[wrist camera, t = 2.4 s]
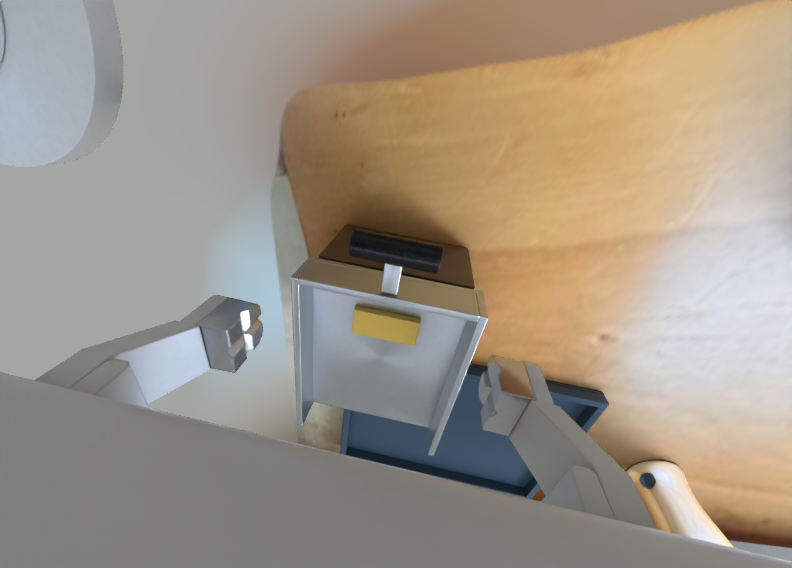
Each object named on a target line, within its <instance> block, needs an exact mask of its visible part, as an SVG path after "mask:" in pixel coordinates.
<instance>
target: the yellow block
mask: <svg viewBox="0 0 792 568" xmlns="http://www.w3.org/2000/svg"><path fill="white" fill-rule="evenodd" d="M420 324H421V319H420V318H415V317H410V316H405V315H401V314H396V313H391V312H386V311H382V310H377V309H372V308H367V307H362V306H358V305H356V306H355V308H354V311H353V321H352V333H355V334H359V335H364V336H369V337H373V338H378V339H383V340H387V341H392V342H397V343H401V344H406V345H411V346H415V344H416V340H417V336H418V332H419V328H420Z"/></svg>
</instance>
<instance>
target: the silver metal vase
mask: <svg viewBox="0 0 792 568" xmlns="http://www.w3.org/2000/svg"><path fill="white" fill-rule="evenodd" d="M627 473H628V474H629V475H630V476H631V478H632V480H633V482H634V484H635V486H636V488H637V490H638V492H639V494H640V496H641V498H642V500H643V502H644V504H645V506H646V508H647V510H648V512H649V514H650V516H651V518H652V520H653V522H654V524H655V526H656V528H657V530H661V531H666V532H670V533H674V534H678V535H682V536H686V537H691V538H695V539H699V540H703V541H707V542H712V543H716V544H720V545H724V546H729V547H733V548H735V547H734V546H733V545H732V544H731V543H730V541H729V540H728V539H727V538H726V536H725V535H724V534H723V533H722V532H721V531H720V529H719V528H718V527H717V526H716V525H715V523H714V522H713V521H712V520H711V519H710V517H709V516H708V515H707V514H706V512H705V511H704V510H703V508H702V507H701V506H700V504H699V503H698V501H697V500H696V498H695V496H694V495H693V493H692V491H691V489H690V486H689V484H688V482H687V480H686V477H685V475H684V473H683V471H682V470H681V468H680V467H679V466H677V465H675V464H673V463H671V462H667V461H659V460H654V461H645V462H641V463H638V464H635V465H633V466H632V467H630V468H629V469H628V470H627Z"/></svg>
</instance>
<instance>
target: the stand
mask: <svg viewBox="0 0 792 568" xmlns="http://www.w3.org/2000/svg"><path fill="white" fill-rule="evenodd" d="M354 229H360V230H366V231H371V232H376V233H381V234H386V235H391V236H396V237H401V238H406V239H411V240H416V241H421V242H426V243H431V244H437V245H442V246H443V255H442V260H441V264H440V268H439V271H438V273H437V274H433V273H428V272H423V271H419V270H414V269H409V268H404V267H403V268H402V273H401V275H404V276H409V277H414V278H419V279H424V280H428V281H433V282H438V283H443V284H448V285H453V286H458V287H463V288H468V289H473V290H474V288H475V287H474V281H473V275H472V269H471V263H470V257H469V251H468V248H464V247H459V246H454V245H449V244H443V243H438V242H433V241H428V240H423V239H418V238H413V237H408V236H403V235H398V234H393V233H388V232H383V231H377V230H372V229H367V228H362V227H357V226H352V225H347V224H346V225H345V226H344V227H343V229H342V230H341V231H340V232H339V233H338V234H337V236H336V237H335V238H334V239H333V240H332V241H331V242H330V244H329V245H328V246H327V247H326V248H325V249H324V251H323V252H322V253H321V254H320V255H319V258H320V259H325V260H330V261H335V262H340V263H345V264H350V265H355V266H359V267H364V268H369V269H374V270H379V271H384V265H385V264H384V263H379V262H374V261H369V260H364V259H359V258H354V257H351V256H350V255H349V243H350V238H351V235H352V232H353V230H354ZM465 377H466V375H465ZM465 377H464V379H465ZM463 382H464V380H463ZM463 382H462V384H463ZM461 387H462V385H461ZM461 387H460V389H461ZM459 392H460V390H459ZM458 394H459V393H458ZM457 397H458V395H457ZM456 399H457V398H456ZM455 402H456V400H455Z"/></svg>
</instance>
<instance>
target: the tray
mask: <svg viewBox="0 0 792 568" xmlns="http://www.w3.org/2000/svg"><path fill="white" fill-rule="evenodd" d="M486 370H488V367H483V366H478V365H474V364H470V365H469V367H468V370H467V372H466V377H465V379H464V382H463V384H462V387H461V389H460V392H459V394H458V397H457V399H456V402H455V403H454V405H453V408H452V410H451V413H450V415H449V418H448V420H447V423H446V425H445V428H444V430H443V433H442V435H441V438H440V440H439V443H438V445H437V448H436V451H435V453H434V456H431V455H428V440H429V428H428V427H424V426H419V425H415V424H410V423H406V422H401V421H397V420H392V419H388V418H384V417H379V416H375V415H370V414H366V413H361V412H357V411H353V410H348V409H344V418H343V428H342V439H341V450H340V454H343V455H347V456H352V457H356V458H360V459H364V460H368V461H373V462H377V463H381V464H385V465H390V466H394V467H398V468H402V469H406V470H411V471H415V472H419V473H423V474H427V475H432V476H436V477H440V478H444V479H448V480H453V481H457V482H461V483H465V484H469V485H473V486H478V487H482V488H486V489H490V490H494V491H499V492H503V493H507V494H511V495H515V496H519V497H524V498H528V499H531V498H532V497H533V496H534V495H535V493H536V492H537V491H538V490H539V489H540V486H539V484H538V482H537V481H536V479H535V478H534V476H533V475H532V473H531V472H530V470H529V468H528V467H527V465H526V464H525V462H524V461H523V459H522V458H521V456H520V454H519V453H518V451H517V450H516V448H515V447H514V445H513V444H512V442H511V441H510V439H509V436H505V435H501V434H497V433H493V432H489V431H485V430H483V428H482V420H481V412H480V411H481V409H482V407H483V404H482V403H481V401H480V400H479V383H480V379H481V376H482V373H483V372H484V371H486ZM545 382H546V384H547V387H548V390H549V392H550V395H551V398H552V400H553V403H554V405H556V406H559V407H560V408H561V409H562V410H563V411H565V412H566V413H567V414H568V415H569V416H570V417H571V418H572V419H573V420H574V421H575V422H576V423H577V424H578V425H579V426H580V427H581V428H582V429H583V430H584V431H585V432H587V431H588V430H589V429H590V427H591V426H592V425H593V424H594V423H595V421H596V420H597V419H598V418H599V417H600V415H601V414H602V413H603V412H604V410H605V409H606V408H607V407H608V406H609V403H608V401H607V399H606V397H605V396H604V394H603V392H600V391H595V390H590V389H586V388H581V387H576V386H572V385H567V384H562V383H558V382H553V381H548V380H545Z"/></svg>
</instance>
